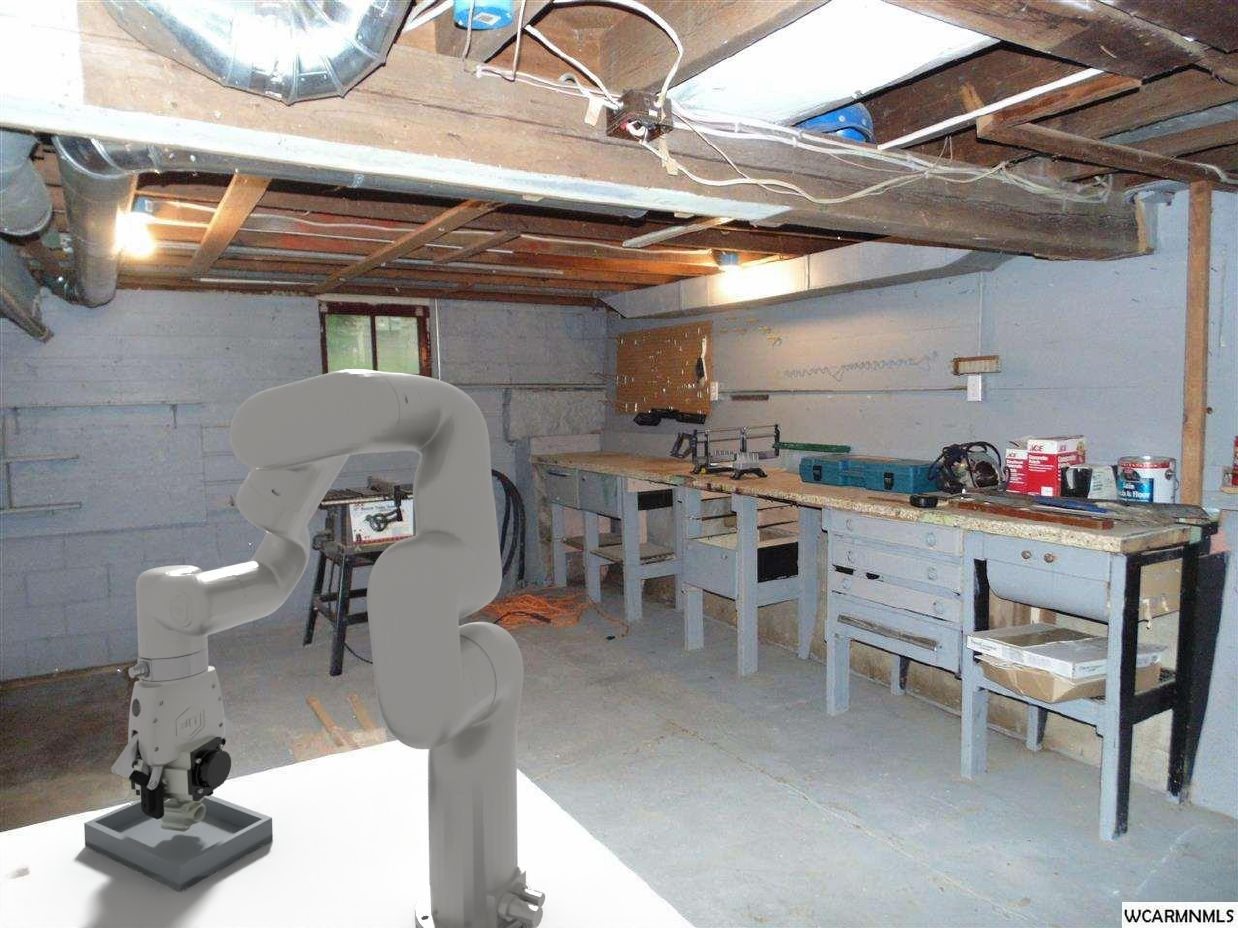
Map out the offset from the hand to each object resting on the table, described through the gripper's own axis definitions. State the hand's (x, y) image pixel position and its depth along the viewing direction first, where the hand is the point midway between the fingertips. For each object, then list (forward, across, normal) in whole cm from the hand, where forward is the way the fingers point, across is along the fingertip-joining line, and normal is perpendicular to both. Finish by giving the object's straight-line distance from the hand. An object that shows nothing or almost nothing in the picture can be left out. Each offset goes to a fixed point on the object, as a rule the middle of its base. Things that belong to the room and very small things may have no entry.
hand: (179, 802), depth 95 cm
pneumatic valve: (+3, 0, 0) cm, 3 cm away
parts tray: (+5, 0, 0) cm, 5 cm away
